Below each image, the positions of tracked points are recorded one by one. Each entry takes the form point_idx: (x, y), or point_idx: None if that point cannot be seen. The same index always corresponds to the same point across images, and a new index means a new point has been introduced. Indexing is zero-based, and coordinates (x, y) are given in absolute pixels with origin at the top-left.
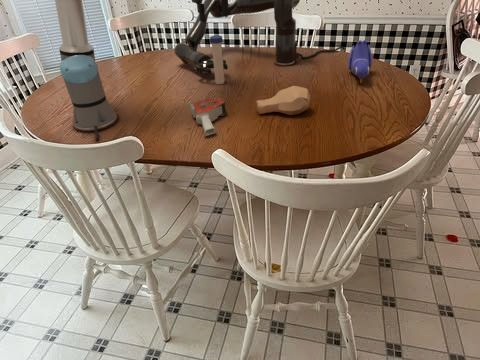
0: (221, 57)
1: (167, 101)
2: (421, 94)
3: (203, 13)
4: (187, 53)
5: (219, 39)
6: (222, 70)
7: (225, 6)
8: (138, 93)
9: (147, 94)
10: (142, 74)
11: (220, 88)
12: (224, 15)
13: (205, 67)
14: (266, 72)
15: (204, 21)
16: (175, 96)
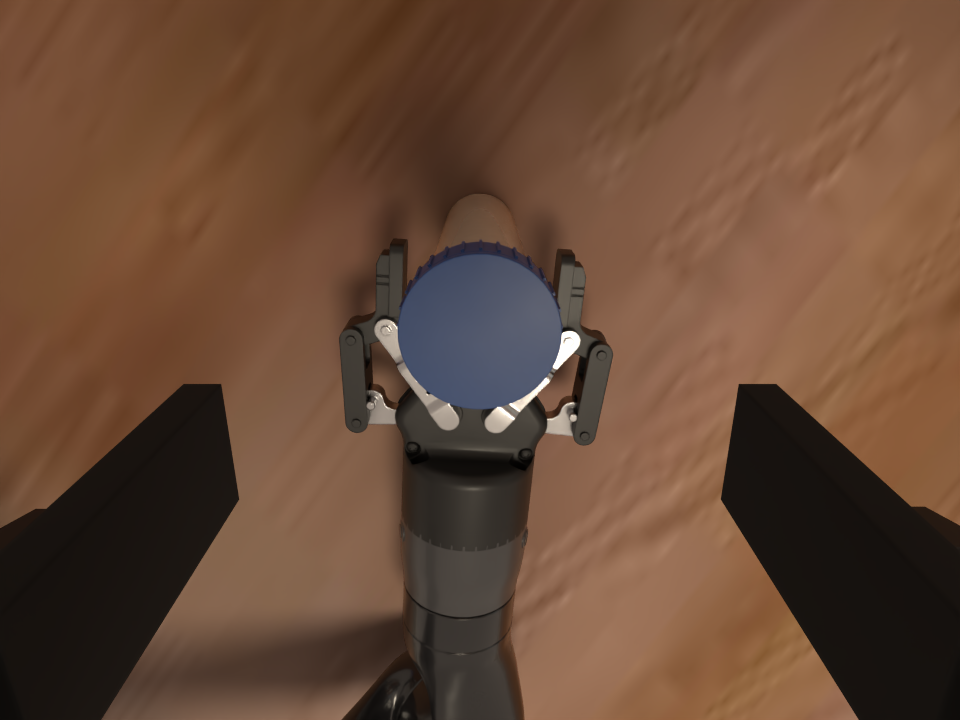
0: (465, 227)
1: (949, 208)
2: None
3: (853, 466)
4: (497, 647)
5: (482, 250)
6: (470, 207)
7: (118, 503)
8: (955, 461)
9: (936, 408)
10: (732, 693)
11: (551, 124)
12: (222, 452)
13: (564, 327)
14: (72, 125)
15: (771, 387)
16: (856, 244)
